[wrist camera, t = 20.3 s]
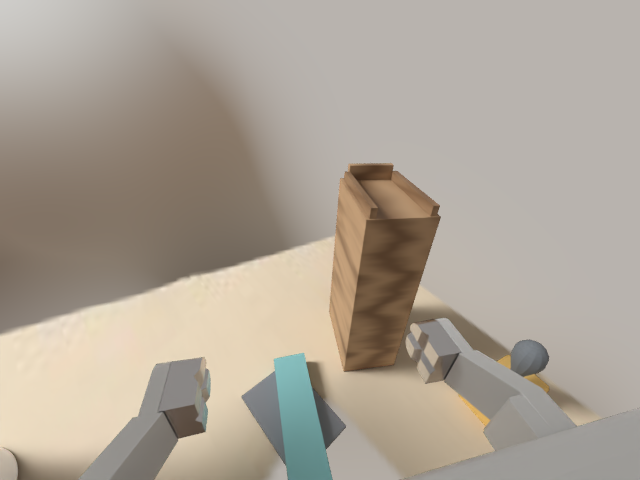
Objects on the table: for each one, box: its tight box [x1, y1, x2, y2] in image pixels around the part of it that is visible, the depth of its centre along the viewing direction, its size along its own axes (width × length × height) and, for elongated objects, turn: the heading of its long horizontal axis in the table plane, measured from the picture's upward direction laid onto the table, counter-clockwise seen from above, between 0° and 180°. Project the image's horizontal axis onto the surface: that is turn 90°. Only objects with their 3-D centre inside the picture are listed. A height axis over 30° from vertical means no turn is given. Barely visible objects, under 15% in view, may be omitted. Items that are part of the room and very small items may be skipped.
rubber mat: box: [242, 371, 346, 465], centre depth 35 cm, size 8×12×1 cm, turn 43°
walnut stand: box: [329, 163, 441, 371], centre depth 38 cm, size 8×12×28 cm, turn 9°
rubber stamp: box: [458, 340, 549, 426], centre depth 35 cm, size 10×6×12 cm, turn 116°
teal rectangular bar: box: [274, 353, 332, 480], centre depth 32 cm, size 4×20×2 cm, turn 14°
